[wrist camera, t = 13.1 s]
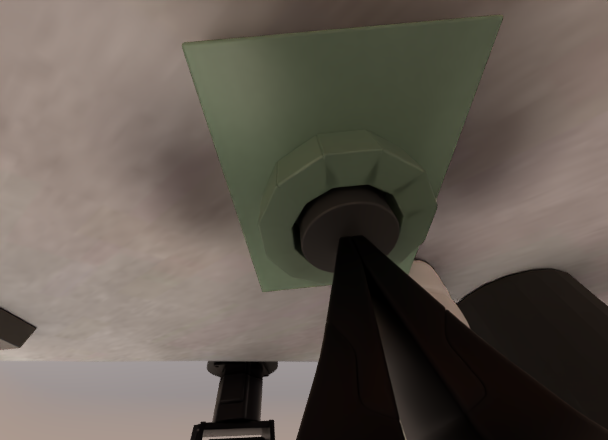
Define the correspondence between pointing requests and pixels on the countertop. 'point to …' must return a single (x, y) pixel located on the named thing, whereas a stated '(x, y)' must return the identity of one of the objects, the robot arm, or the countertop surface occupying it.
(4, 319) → the tap base
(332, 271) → the dark round button
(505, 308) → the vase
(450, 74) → the green button mount
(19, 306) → the countertop surface
